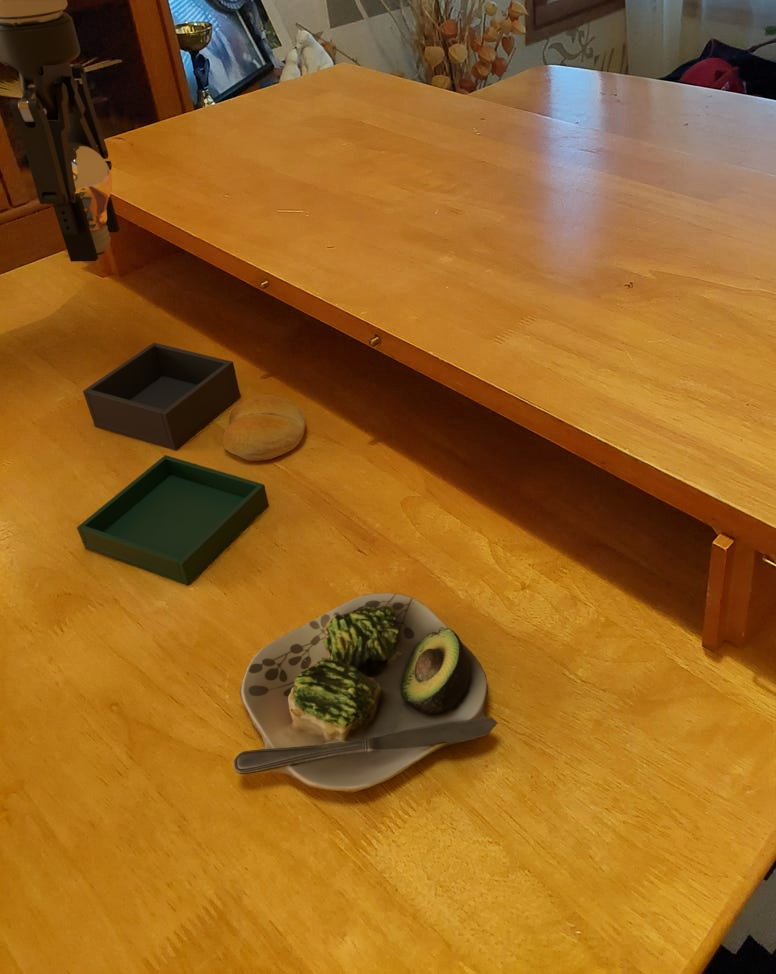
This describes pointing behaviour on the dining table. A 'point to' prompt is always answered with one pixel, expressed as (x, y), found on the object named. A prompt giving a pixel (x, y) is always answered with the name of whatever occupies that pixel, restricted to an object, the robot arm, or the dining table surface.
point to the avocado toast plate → (362, 694)
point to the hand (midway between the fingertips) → (95, 244)
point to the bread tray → (174, 518)
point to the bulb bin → (163, 395)
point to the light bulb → (92, 190)
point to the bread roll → (264, 428)
